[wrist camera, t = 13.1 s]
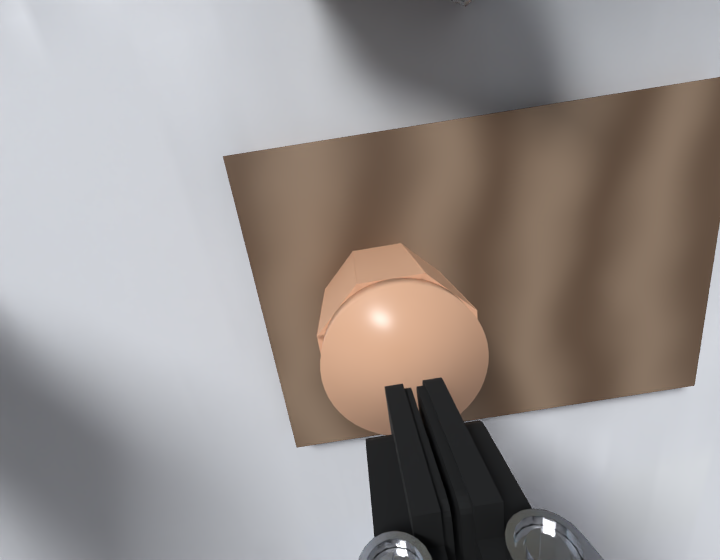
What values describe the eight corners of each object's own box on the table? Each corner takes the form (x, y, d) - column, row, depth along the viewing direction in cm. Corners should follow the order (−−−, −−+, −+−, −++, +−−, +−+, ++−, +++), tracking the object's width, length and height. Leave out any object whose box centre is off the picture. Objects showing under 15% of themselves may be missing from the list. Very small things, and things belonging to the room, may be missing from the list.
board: (711, 81, 19) (742, 73, 17) (673, 372, 24) (694, 385, 22) (232, 157, 19) (223, 156, 17) (299, 431, 24) (296, 447, 22)
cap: (394, 370, 21) (417, 461, 14) (306, 314, 20) (286, 385, 13) (463, 288, 20) (524, 346, 13) (373, 222, 18) (389, 249, 12)
